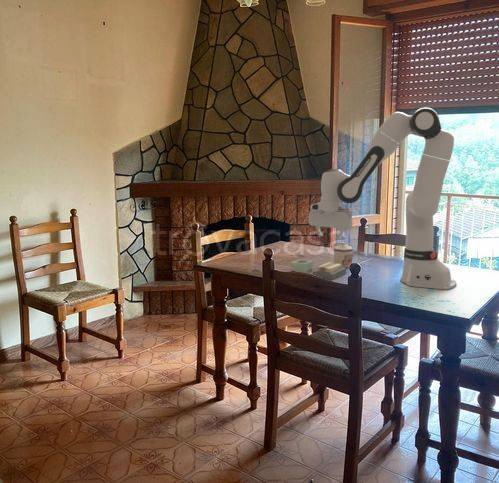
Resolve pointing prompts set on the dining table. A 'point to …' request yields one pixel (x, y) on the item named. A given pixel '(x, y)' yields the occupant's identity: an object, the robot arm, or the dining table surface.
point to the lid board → (329, 267)
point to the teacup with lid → (343, 255)
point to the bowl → (302, 266)
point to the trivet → (330, 274)
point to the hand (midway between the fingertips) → (329, 237)
